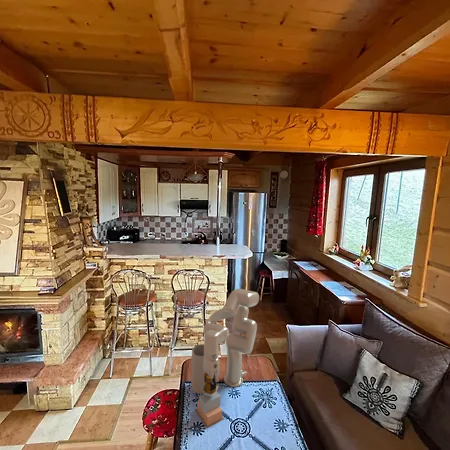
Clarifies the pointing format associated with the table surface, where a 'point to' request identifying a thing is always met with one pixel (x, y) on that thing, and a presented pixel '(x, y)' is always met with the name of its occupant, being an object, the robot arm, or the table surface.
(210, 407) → the brick
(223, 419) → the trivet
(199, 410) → the brick
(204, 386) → the condiment
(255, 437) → the table surface
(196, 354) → the cylinder vase
